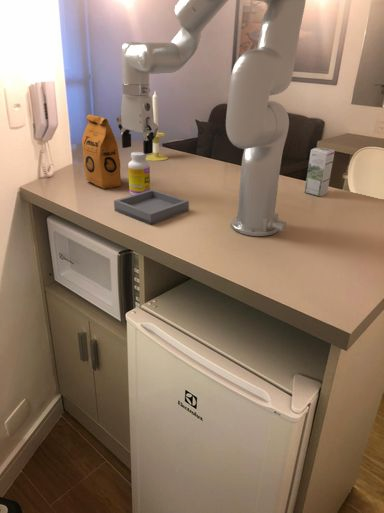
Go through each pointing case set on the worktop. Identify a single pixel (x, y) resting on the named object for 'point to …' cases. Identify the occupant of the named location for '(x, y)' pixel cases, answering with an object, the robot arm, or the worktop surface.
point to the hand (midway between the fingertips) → (137, 150)
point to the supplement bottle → (139, 173)
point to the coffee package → (101, 153)
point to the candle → (156, 139)
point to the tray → (151, 206)
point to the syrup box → (319, 171)
